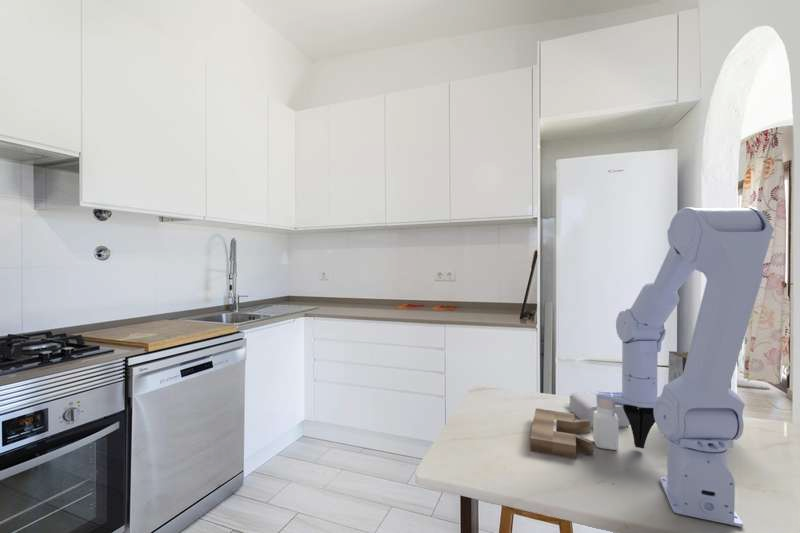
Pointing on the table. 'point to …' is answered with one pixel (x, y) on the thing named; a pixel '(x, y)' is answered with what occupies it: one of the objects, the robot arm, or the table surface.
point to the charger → (592, 408)
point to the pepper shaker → (606, 425)
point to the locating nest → (559, 434)
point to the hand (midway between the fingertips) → (638, 445)
